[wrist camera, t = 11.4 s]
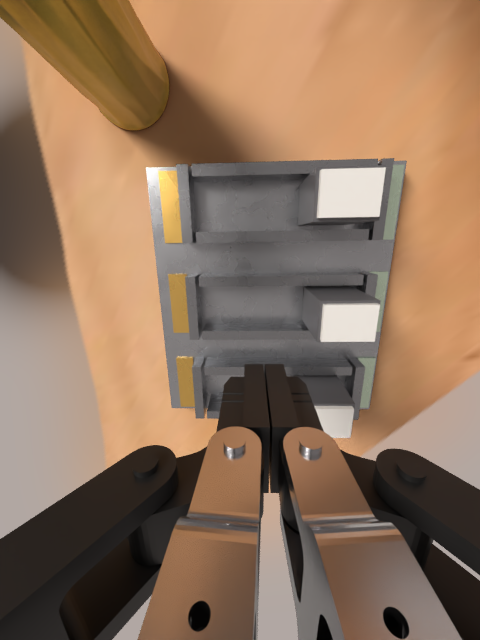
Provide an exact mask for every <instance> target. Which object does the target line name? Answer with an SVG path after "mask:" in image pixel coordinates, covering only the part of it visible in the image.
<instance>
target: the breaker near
mask: <svg viewBox="0 0 480 640" xmlns="http://www.w3.org/2000/svg"><path fill="white" fill-rule="evenodd" d="M385 173H386V165H375V166H337V167H316V168H315V169H314V170H313V171H312V172H311V173H310V174H309V175H308V176H307V177H306V179H305V180H304V181H303V182H302V183H301V184H300V185H299V205H298V226H306V225H349V224H357V223H365V222H372V221H379V218H380V211H381V203H382V195H383V188H384V180H385Z"/></svg>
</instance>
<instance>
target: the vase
mask: <svg viewBox="0 0 480 640" xmlns="http://www.w3.org/2000/svg"><path fill="white" fill-rule="evenodd" d="M0 18H1V19H3V20H4V21H5V22H6V23H7V24H8V25H9V26H10V27H11V28H13V29H14V30H15V31H16V32H17V33H18V34H19V35H20V36H21V37H22V38H23V39H24V40H25V41H26V42H27V43H29V44H30V45H31V46H32V47H33V48H34V49H35V50H36V51H37V52H38V53H39V54H40V55H41V56H42V57H43V58H44V59H45V60H46V61H47V62H48V63H50V64H51V65H52V66H53V67H54V68H55V69H56V70H57V71H58V72H59V73H60V74H61V75H62V76H63V77H64V78H65V79H66V80H67V81H68V82H70V83H71V84H72V85H73V86H74V87H75V88H76V89H77V90H78V91H79V92H80V93H81V94H82V95H84V96H85V97H86V98H87V99H89V100H90V101H91V102H92V103H93V104H95V105H96V106H97V107H98V108H99V110H100V112H101V113H102V114H103V115H104V116H105V117H106V118H107V119H108V120H109V121H110V122H112V123H113V124H115V125H116V126H118V127H120V128H123V129H126V130H141V129H145V128H147V127H149V126H151V125H152V124H154V123H155V122H156V121H157V120H158V119H159V118H160V116H161V115H162V113H163V111H164V109H165V107H166V104H167V101H168V96H169V78H168V73H167V69H166V66H165V63H164V61H163V59H162V57H161V56H160V54H159V53H158V51H157V50H156V49H155V47H154V45H153V43H152V42H151V40H150V38H149V36H148V34H147V33H146V31H145V29H144V27H143V25H142V24H141V22H140V20H139V19H138V17H137V15H136V13H135V11H134V9H133V8H132V6H131V4H130V2H129V0H0Z"/></svg>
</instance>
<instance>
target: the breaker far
mask: <svg viewBox="0 0 480 640" xmlns="http://www.w3.org/2000/svg"><path fill="white" fill-rule="evenodd" d="M291 377H299V378H300V379H301V380H302V381H303V382H304V383H305V384H306V385H307V388H308V391H309V395H310V396H311V399H312V403H313V404H314V407H315V409H316V412H317V415H318V417H319V420H320V423H321V425H322V428H323V431H324V432H325V433H327V434H328V435H329V436H331V437H332V438H350V437H351V432H352V424H353V416H354V409H355V403H354V401H353V400H352V398H351V396H350V395H349V393H348V392H347V390H346V389H345V387H344V385H343V384H342V382H341V381H340V379H339V378H338V376H337V375H291Z"/></svg>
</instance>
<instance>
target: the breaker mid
mask: <svg viewBox="0 0 480 640" xmlns="http://www.w3.org/2000/svg"><path fill="white" fill-rule="evenodd" d="M380 302H381V300H379V299H377V298H375V297H373V296H370V295H368V294H366V293H364V292H362V291H360V290H358V289H356V288H354V287H352V286H304V293H303V311H302V320H303V322H304V323H305V325H306V326H307V328H308V329H309V331H310V333H311V334H312V336H313V337H314V339H315V340H316V342H375V336H376V329H377V323H378V316H379V309H380Z"/></svg>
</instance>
